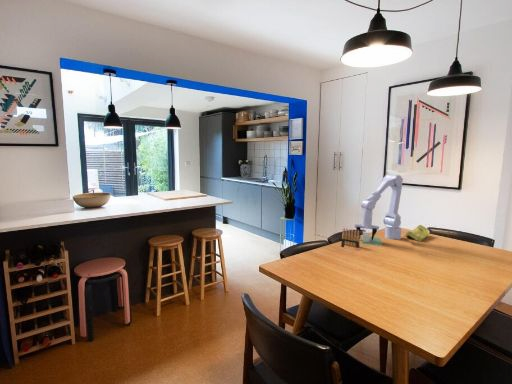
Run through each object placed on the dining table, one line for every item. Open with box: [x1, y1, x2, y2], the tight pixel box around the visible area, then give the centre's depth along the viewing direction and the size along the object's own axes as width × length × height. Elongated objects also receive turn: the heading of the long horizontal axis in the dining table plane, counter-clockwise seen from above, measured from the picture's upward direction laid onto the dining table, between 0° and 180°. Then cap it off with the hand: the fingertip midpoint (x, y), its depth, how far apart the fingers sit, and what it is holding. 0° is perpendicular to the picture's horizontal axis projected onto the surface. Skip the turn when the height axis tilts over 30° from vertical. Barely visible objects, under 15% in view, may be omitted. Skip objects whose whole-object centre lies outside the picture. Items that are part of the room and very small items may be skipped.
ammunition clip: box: [340, 227, 361, 251], centre depth 177 cm, size 11×2×12 cm, turn 55°
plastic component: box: [403, 224, 431, 242], centre depth 202 cm, size 20×7×10 cm
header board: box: [360, 235, 384, 247], centre depth 187 cm, size 12×18×4 cm, turn 162°
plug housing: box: [362, 231, 370, 242], centre depth 187 cm, size 4×7×5 cm, turn 162°
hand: (365, 239), depth 187 cm, fingers open, 7 cm apart
